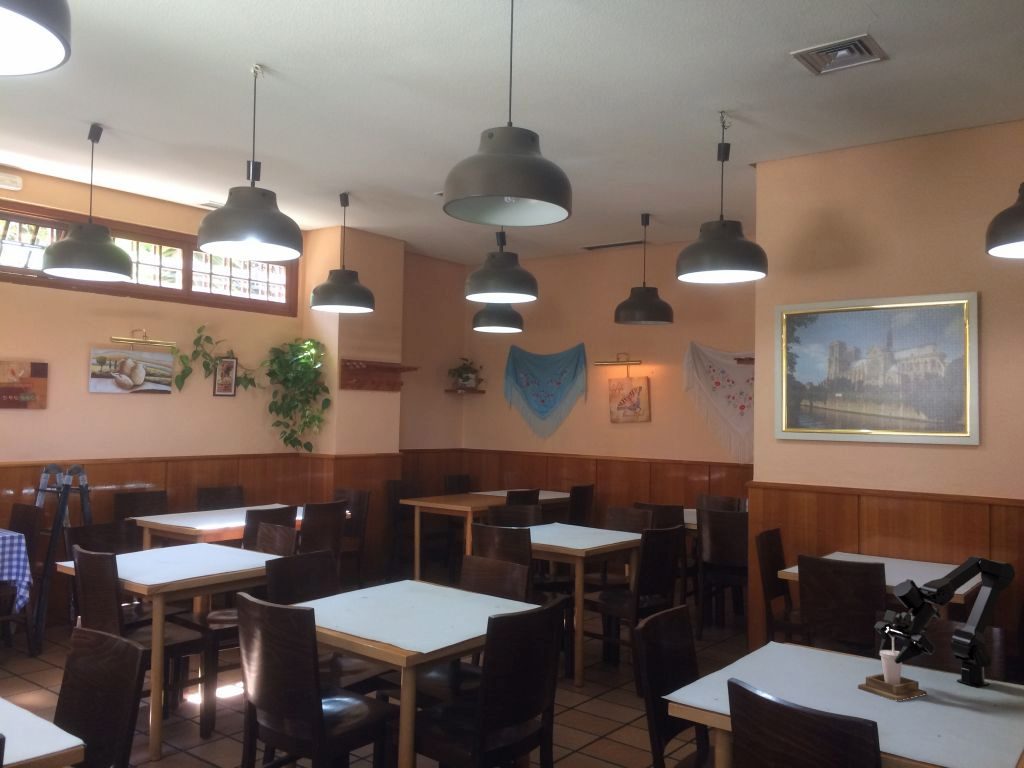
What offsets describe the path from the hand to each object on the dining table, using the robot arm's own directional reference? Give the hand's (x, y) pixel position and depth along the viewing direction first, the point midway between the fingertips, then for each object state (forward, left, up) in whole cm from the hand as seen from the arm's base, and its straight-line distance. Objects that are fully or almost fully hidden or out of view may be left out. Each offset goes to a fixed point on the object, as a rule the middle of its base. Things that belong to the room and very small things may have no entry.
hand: (887, 659), depth 230 cm
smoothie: (-1, 0, -8) cm, 8 cm away
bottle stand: (-1, 0, -9) cm, 9 cm away
